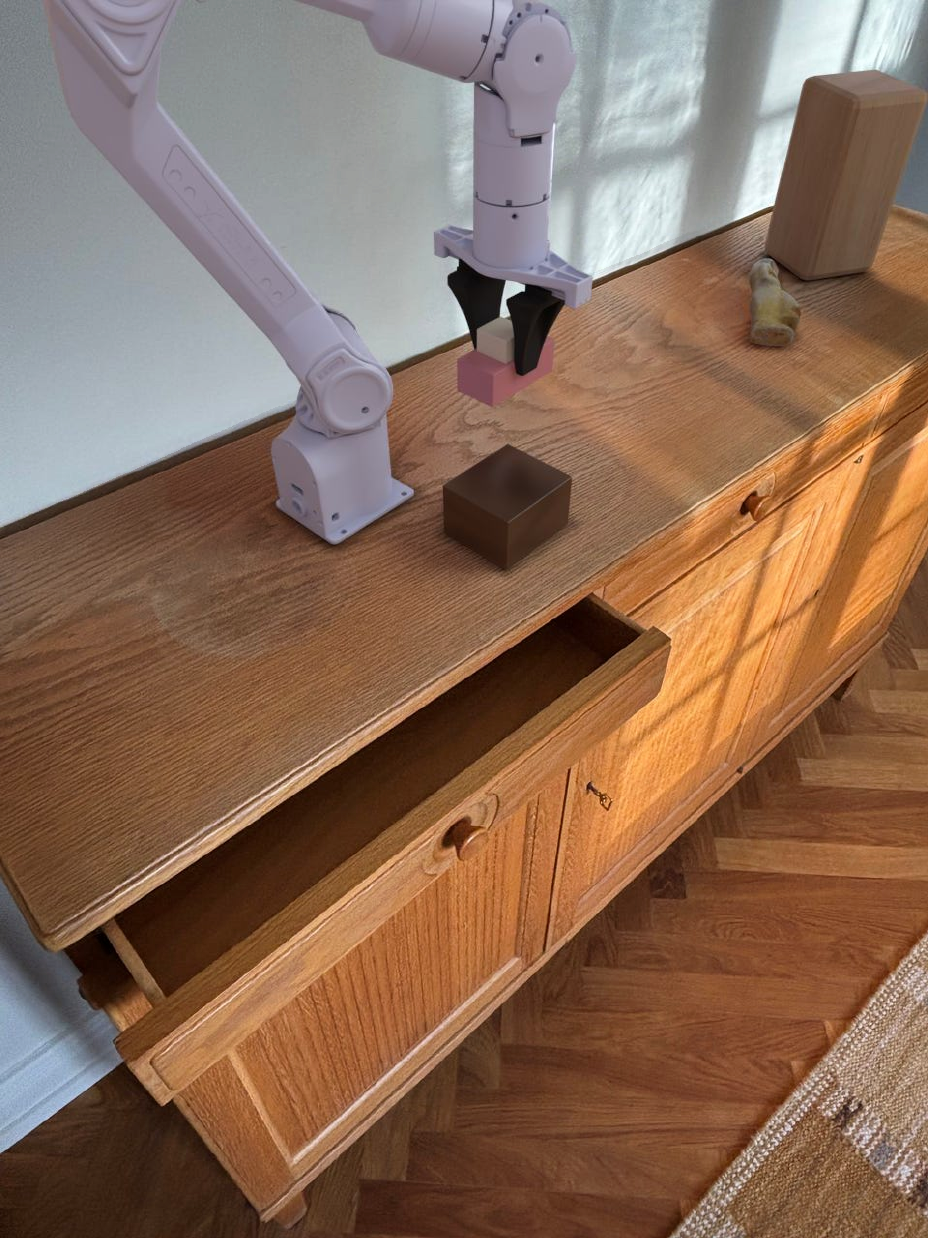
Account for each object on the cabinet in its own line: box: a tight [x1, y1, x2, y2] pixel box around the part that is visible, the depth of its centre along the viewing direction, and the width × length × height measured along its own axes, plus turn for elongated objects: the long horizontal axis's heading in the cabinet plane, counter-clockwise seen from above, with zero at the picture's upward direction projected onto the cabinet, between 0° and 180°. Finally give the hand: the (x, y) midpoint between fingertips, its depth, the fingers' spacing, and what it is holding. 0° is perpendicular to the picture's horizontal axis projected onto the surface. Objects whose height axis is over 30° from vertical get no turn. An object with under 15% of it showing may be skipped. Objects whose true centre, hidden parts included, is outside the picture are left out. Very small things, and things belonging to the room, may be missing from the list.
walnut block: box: [442, 443, 573, 571], centre depth 72 cm, size 8×7×5 cm
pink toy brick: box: [456, 316, 556, 408], centre depth 73 cm, size 8×4×5 cm, turn 138°
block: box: [764, 69, 928, 281], centre depth 102 cm, size 10×10×20 cm
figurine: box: [748, 257, 802, 347], centre depth 98 cm, size 5×5×15 cm
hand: (506, 361), depth 73 cm, fingers closed on pink toy brick, 4 cm apart
